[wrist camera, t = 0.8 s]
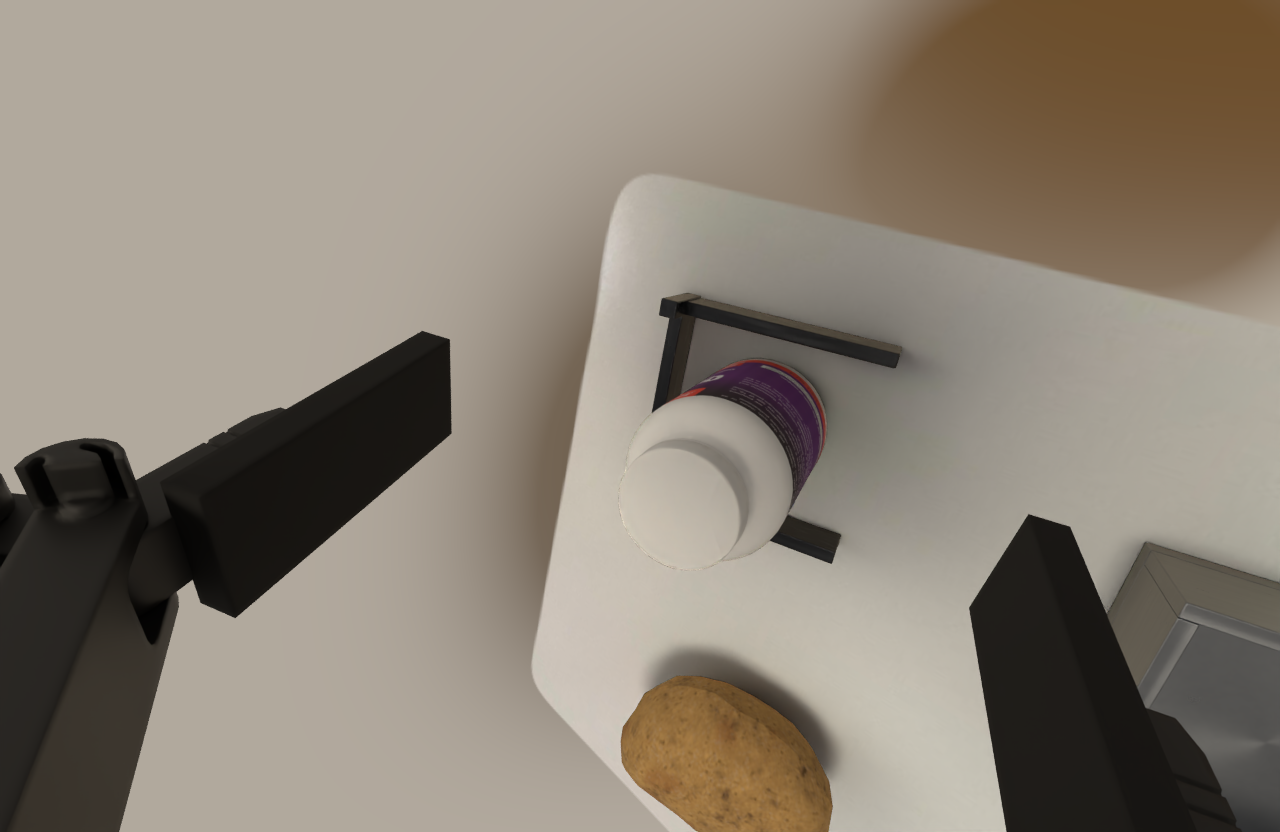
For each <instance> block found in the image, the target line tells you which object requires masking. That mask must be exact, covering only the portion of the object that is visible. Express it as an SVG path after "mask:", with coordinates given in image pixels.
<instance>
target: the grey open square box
mask: <svg viewBox="0 0 1280 832" xmlns="http://www.w3.org/2000/svg"><path fill="white" fill-rule="evenodd" d="M1107 616H1108V619H1109V621H1110V624H1111V626H1112V628H1113V631H1114V633H1115V636H1116V638H1117V640H1118V643H1119V645H1120V648H1121V650H1122V652H1123V655H1124V657H1125V660H1126V662H1127V664H1128V667H1129V669H1130V672H1131V674H1132V676H1133V679H1134V681H1135V684H1136V686H1137V688H1138V691H1139V693H1140V695H1141V698H1142V700H1143V703H1144V705H1145V707H1146V708H1148V709H1151V710H1154V711H1157V712H1160V713H1162V714H1165V715H1168V716H1171V717H1174V718H1176V719H1177V721H1178V722H1179V723H1180V724H1181V725H1182V727H1183V728H1184V729H1185V730H1186V731H1187V733H1188V734H1189V735H1190V736H1191V738H1192V739H1193V740H1194V741H1195V742H1196V744H1197V745H1198V746H1199V747H1200V749H1201V750H1202V751H1203V752H1204V753H1205V755H1206V757H1207V759H1208V761H1209V763H1210V765H1211V768H1212V770H1213V772H1214V774H1215V776H1216V778H1217V780H1218V782H1219V784H1220V786H1221V789H1222V792H1221V795H1222V797H1225V798H1226V799H1227V801H1228V803H1229V805H1230V807H1231V810H1232V812H1233V814H1234V816H1235V818H1236V820H1237V822H1236V827H1237V828H1240V829H1241V831H1242V832H1280V583H1276V582H1273V581H1270V580H1267V579H1263V578H1260V577H1257V576H1254V575H1250V574H1247V573H1244V572H1241V571H1237V570H1234V569H1231V568H1228V567H1225V566H1221V565H1218V564H1215V563H1212V562H1208V561H1205V560H1202V559H1199V558H1195V557H1192V556H1189V555H1186V554H1182V553H1179V552H1176V551H1173V550H1170V549H1166V548H1163V547H1160V546H1157V545H1153V544H1150V543H1145V545H1144V547H1143V549H1142V550H1141V552H1140V554H1139V556H1138V558H1137V560H1136V562H1135V564H1134V566H1133V567H1132V569H1131V571H1130V573H1129V575H1128V577H1127V579H1126V581H1125V583H1124V584H1123V586H1122V588H1121V590H1120V592H1119V594H1118V596H1117V598H1116V599H1115V601H1114V603H1113V605H1112V607H1111V609H1110V611H1109V613H1108V615H1107Z"/></svg>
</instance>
